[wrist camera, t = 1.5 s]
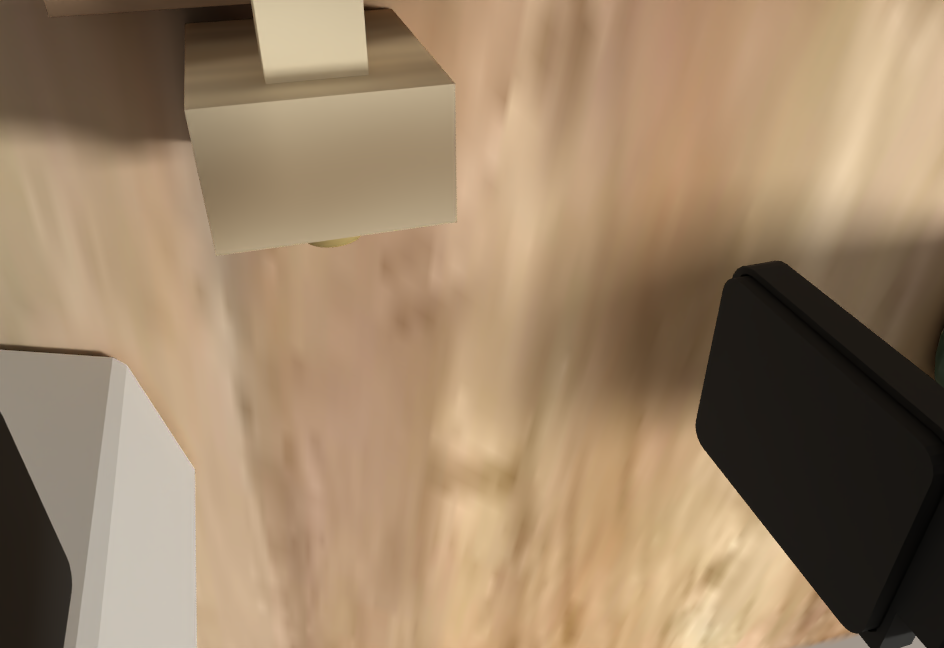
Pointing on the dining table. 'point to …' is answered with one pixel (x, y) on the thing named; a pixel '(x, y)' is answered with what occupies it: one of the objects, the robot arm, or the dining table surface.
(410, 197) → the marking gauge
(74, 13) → the walnut board
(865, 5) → the dining table surface
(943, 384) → the coffee jar
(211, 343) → the dining table surface
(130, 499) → the soap bottle
